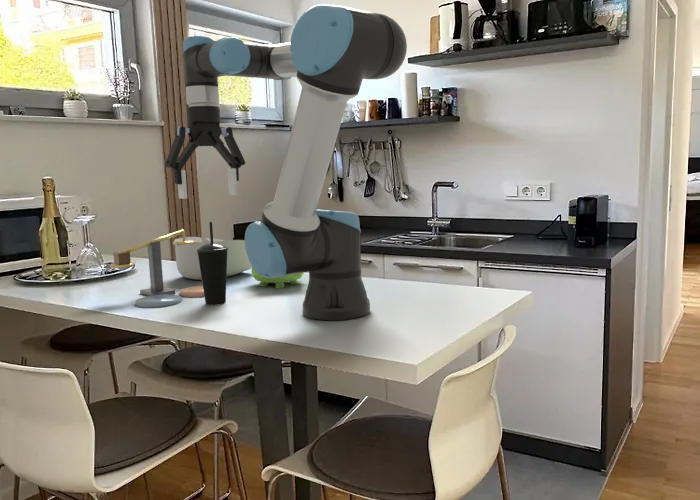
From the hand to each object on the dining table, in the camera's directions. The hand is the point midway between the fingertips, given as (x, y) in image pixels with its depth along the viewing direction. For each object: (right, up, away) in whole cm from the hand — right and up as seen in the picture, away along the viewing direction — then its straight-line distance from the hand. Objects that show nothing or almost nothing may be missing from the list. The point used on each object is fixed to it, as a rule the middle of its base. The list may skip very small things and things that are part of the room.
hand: (208, 196), depth 150 cm
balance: (-17, -24, +17) cm, 34 cm away
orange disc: (-6, -24, +17) cm, 30 cm away
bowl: (-8, -21, +40) cm, 46 cm away
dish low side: (-14, -26, +6) cm, 30 cm away
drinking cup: (+1, -26, +4) cm, 26 cm away
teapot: (+13, -22, +26) cm, 36 cm away
